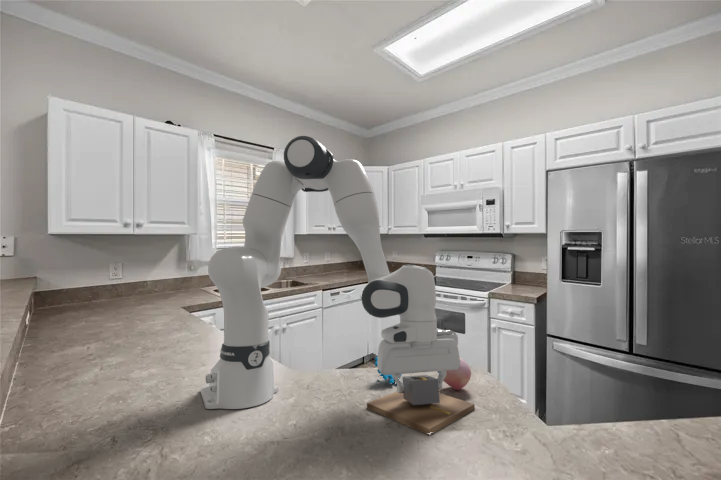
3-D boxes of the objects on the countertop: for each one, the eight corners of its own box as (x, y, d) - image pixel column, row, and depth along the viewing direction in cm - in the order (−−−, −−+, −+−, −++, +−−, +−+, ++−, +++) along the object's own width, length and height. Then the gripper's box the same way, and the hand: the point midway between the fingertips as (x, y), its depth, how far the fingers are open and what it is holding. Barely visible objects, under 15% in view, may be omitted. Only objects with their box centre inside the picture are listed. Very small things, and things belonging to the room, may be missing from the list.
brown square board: (366, 408, 77) (366, 376, 77) (413, 389, 89) (413, 362, 90) (429, 435, 63) (428, 397, 64) (474, 409, 76) (473, 377, 76)
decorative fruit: (437, 383, 93) (436, 348, 94) (466, 384, 93) (464, 349, 94) (442, 396, 84) (441, 356, 85) (474, 396, 83) (473, 357, 84)
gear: (390, 384, 88) (371, 353, 94) (377, 397, 90) (359, 366, 96) (410, 379, 97) (392, 352, 102) (398, 391, 98) (380, 363, 104)
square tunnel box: (403, 398, 78) (402, 374, 79) (428, 396, 79) (426, 373, 81) (413, 405, 72) (411, 379, 73) (439, 402, 73) (437, 377, 75)
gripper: (451, 327, 83) (452, 383, 82) (375, 331, 79) (375, 389, 77) (463, 331, 77) (466, 391, 76) (382, 335, 73) (383, 399, 71)
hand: (419, 390), depth 77 cm, fingers open, 8 cm apart
